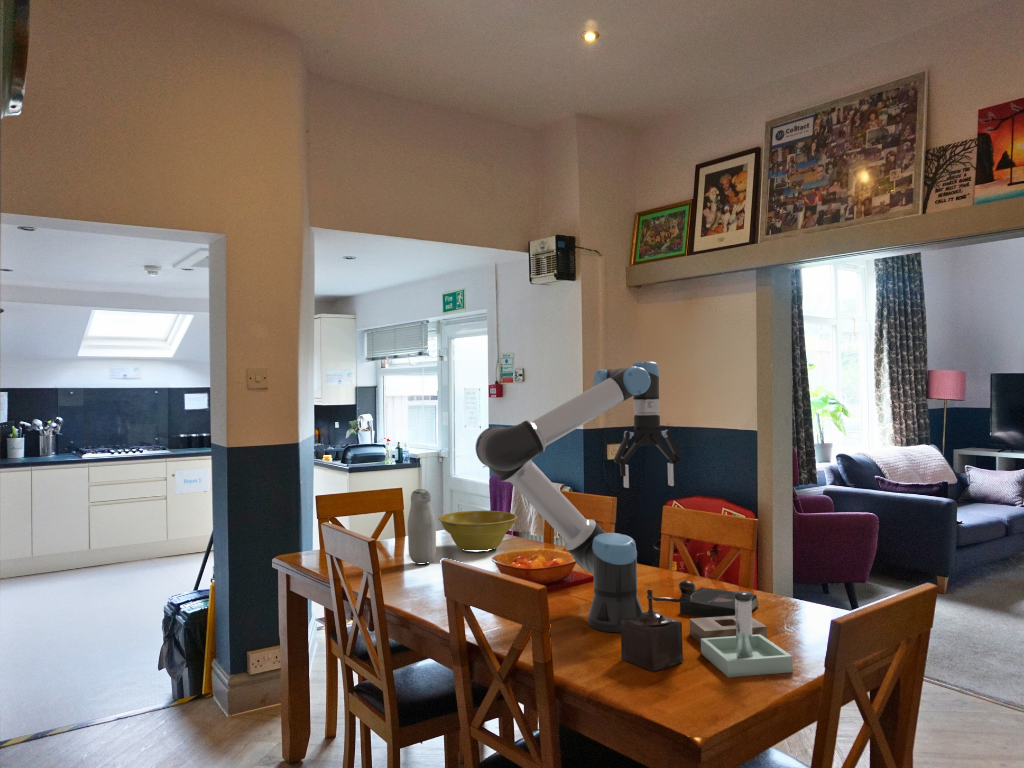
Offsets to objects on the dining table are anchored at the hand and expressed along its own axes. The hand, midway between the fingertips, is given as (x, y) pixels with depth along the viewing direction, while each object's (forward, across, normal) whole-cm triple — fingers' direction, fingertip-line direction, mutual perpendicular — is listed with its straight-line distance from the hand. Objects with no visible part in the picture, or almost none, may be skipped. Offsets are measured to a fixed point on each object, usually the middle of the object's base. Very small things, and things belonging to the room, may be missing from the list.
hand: (648, 486), depth 214 cm
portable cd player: (+35, +17, -9) cm, 40 cm away
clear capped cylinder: (+34, +6, -48) cm, 59 cm away
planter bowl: (+35, -43, +90) cm, 106 cm away
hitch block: (+35, +9, -32) cm, 48 cm away
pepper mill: (+35, -12, -42) cm, 56 cm away
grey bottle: (+35, -66, +69) cm, 102 cm away
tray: (+35, +6, -48) cm, 60 cm away
